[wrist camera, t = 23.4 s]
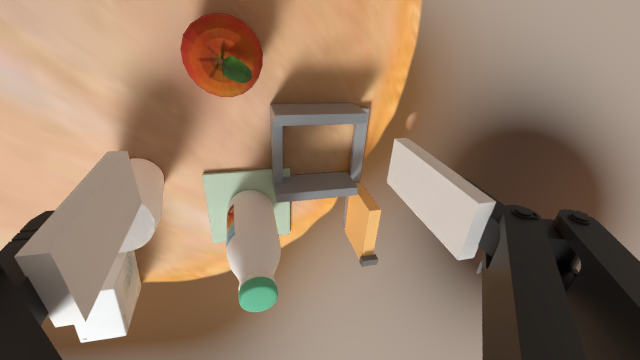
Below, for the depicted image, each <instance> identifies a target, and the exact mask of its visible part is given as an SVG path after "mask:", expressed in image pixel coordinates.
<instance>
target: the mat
mask: <svg viewBox="0 0 640 360" xmlns="http://www.w3.org/2000/svg"><path fill="white" fill-rule="evenodd" d="M283 177H290V168H283ZM203 181H204V188H205V194H206V201H207V207H208V214H209V220H210V226H211V233H212V239H213V243H221V242H226V234H227V207H228V204H229V202H230V200H231V199H232V198H233V197H234V196H235V195H236V194H238V193H240V192H242V191H245V190H256V191H259V192H262V193H264V194H265V195H266V196H268V197H269V199H270V200H271V203H272V206H273V210H274V215H275V220H276V225H277V230H278V235H287V234H290V202H280V203H277V202H276V198H275V193H274V189H273V177H272V169H261V170H246V171H231V172H216V173H203Z"/></svg>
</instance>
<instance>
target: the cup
mask: <svg viewBox="0 0 640 360" xmlns="http://www.w3.org/2000/svg"><path fill="white" fill-rule="evenodd" d="M130 162H131V166H132V169H133V173H134V177H135V180H136V184H137V187H138V191H139V194H140V198H141V202H142V204H141V206H140V208H139V210H138V212H137V214H136V216H135V218H134V221H133V223H132V225H131V227H130V229H129V231H128V233H127V235H126V238H125V240H124V242H123V244H122V246H121V248H120V250H119V252H118V253H122V252H129V251H133V250H136V249H138V248H140V247H142V246H144V245H145V244H146V243H147V242H148V241H149V240H150V239H151V238H152V236H153V234H154V232H155V229H156V227H157V225H158V223H159V221H160V219H161V214H162V202H163V189H164V175H163V173H162V171H161V169H160V168H159V167H158V166H157V165H156V164H154V163H152V162H151V161H148V160H145V159H141V158H132V159H130Z"/></svg>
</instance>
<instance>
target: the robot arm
mask: <svg viewBox="0 0 640 360" xmlns="http://www.w3.org/2000/svg"><path fill="white" fill-rule="evenodd" d="M387 183H388V184H389V185H390V186H391V187H392V188H393V190H394V191H395V192H396V193H397V194H398V195H399V196H400V197H401V198H402V199H403V200H404V201H405V203H406V204H407V205H408V206H409V207H410V208H411V209H412V210H413V211H414V213H415V214H416V215H417V216H418V217H419V218H420V219H421V220H422V221H423V222H424V224H425V225H426V226H427V227H428V228H429V229H430V230H431V231H432V232H433V233H434V234H435V236H436V237H437V238H438V239H439V240H440V241H441V242H442V243H443V244H444V245H445V246H446V248H447V249H448V250H449V251H450V252H451V253H452V254H453V255H454V256H455V257H456V258H457V260H463V259H469V258H474V256H475V253H476V251H477V248H478V246H479V247H481V248H482V249H483V250H484V251H485V254H484V256H483V258H482V261H481V263H480V266H479V268H478V270H477V274H480V271H482V315H483V316H482V331H483V332H482V333H483V360H640V261H638V259H636V258H635V257H634V256H633V255H632V254H631V253H630V252H629V251H628V250H627V249H626V248H625V247H624V246H623V245H622V244H621V243H620V242H619V241H618V240H617V239H616V238H615V237H614V236H613V235H612V234H611V233H610V232H608V231H607V230H606V229H605V228H604V227H603V226H602V225H601V224H600V223H599V222H598V221H597V220H595V219H594V218H592V217H590V216H588V215H587V214H586V213H583V212H582V213H581V212H580V211H574V210H565V209H563V210H560V211H559V213H558V215H557V216H556V218H555V220H551V219H542V218H541V217H540V216H539V215H538V214H537V213H536V212H534V211H532V210H530V209H528V208H525V207H522V206H518V205H507V206H505V205H504V204H502V203H501V202H499V201H498V200H496V199H495V198H494V197H492V196H491V195H490V194H488V193H487V192H484V190H482V189H481V188H480V187H477V185H475V184H474V183H473V182H471V181H470V180H468V179H466V178H463V177H461V176H459V175H458V174H457V173H455V172H454V171H452V170H451V169H449V168H448V167H447V166H445V165H444V164H443V163H441V162H440V161H439V160H437V159H436V158H434V157H433V156H432V155H430V154H429V153H427V152H426V151H425V150H423V149H422V148H420V147H419V146H418V145H416V144H415V143H413V142H412V141H411V140H409V139H408V138H395V139H394V145H393V150H392V156H391V161H390V166H389V172H388V177H387ZM141 204H142V202H141V198H140V194H139V191H138V187H137V184H136V180H135V177H134V173H133V169H132V166H131V162H130V159H129V155H128V152H127V151H112V152H107V153H106V154H105V155H104V156H103V157H102V159H101V160H100V161H99V162H98V163H97V164H96V165H95V166H94V168H93V169H92V170H91V171H90V172H89V173H88V174H87V175H86V177H85V178H84V179H83V180H82V181H81V182H80V183H79V184H78V186H77V187H76V188H75V189H74V190H73V191H72V192H71V193H70V195H69V196H68V197H67V198H66V199H65V200H64V201H63V202H62V204H61V205H60V206H59V207H58V208H57V209H56V210H55V211H45V212H44V213H42V214H40V215H39V216H37V217H35V218H34V219H32V220H30V221H29V222H28V223H27V224H26V225H25V226H24V227H23V228H22V229H21V230H20V233H18V234H17V235H16V236H15V237H14V238H13V239H12V242H9V243H8V244H7V245H6V246H5V247H4V248H3V249H2V250H1V251H0V360H62V358H61V357H60V355H59V354H58V352H57V351H56V349H55V348H54V346H53V345H52V343H51V342H50V340H49V338H48V337H47V335H46V334H45V332H44V331H43V329H42V328H41V324H42V323H43V321H44V319H45V318H46V316H47V315H49V317H50V319H51V321H52V322H53V324H54V326H55V327H60V326H66V325H73V324H79V323H85V322H86V320H87V318H88V316H89V314H90V312H91V310H92V308H93V306H94V303H95V301H96V299H97V297H98V295H99V293H100V291H101V289H102V286H103V284H104V282H105V280H106V278H107V276H108V274H109V272H110V269H111V267H112V265H113V263H114V261H115V259H116V257H117V255H118V252H119V250H120V248H121V246H122V244H123V242H124V240H125V238H126V235H127V233H128V231H129V229H130V227H131V225H132V223H133V221H134V218H135V216H136V214H137V212H138V210H139V208H140V206H141ZM580 260H581V269H580V272H578V271H577V269H576V267H577V265H578V263H579V262H580Z"/></svg>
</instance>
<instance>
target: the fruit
mask: <svg viewBox="0 0 640 360" xmlns="http://www.w3.org/2000/svg"><path fill="white" fill-rule="evenodd" d="M181 54H182V60H183V64H184V66H185V68H186V70H187V72H188V74H189V76H190V77H191V78H192V79H193V80H194V81H195V83H196V84H197V85H198V86H199V87H201V88H202V89H204V90H205V91H207V92H208V93H211V94H214V95H217V96H220V97H234V96H238V95H241V94H243V93H245V92H246V91H248V90H249V89H250V88H252V86H253V85H254V84H255V82H256V81H257V79H258V77H259V74H260V71H261V68H262V59H263V53H262V49H261V46H260V42H259V40H258V38H257V37H256V35H255V34H254V32H253V30H252V29H251V28H250V27H248V26H247V25H246V24H245V23H244V22H243V21H242V20H240V19H237V18H235V17H233V16H231V15H227V14H218V13H214V14H209V15H205V16H201V17H200V18H198V19H197V20H195V21H194V22H192V23H191V24H190V25H189V27H188V28H187V30H186V31H185V33H184V34H183V38H182V44H181Z"/></svg>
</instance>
